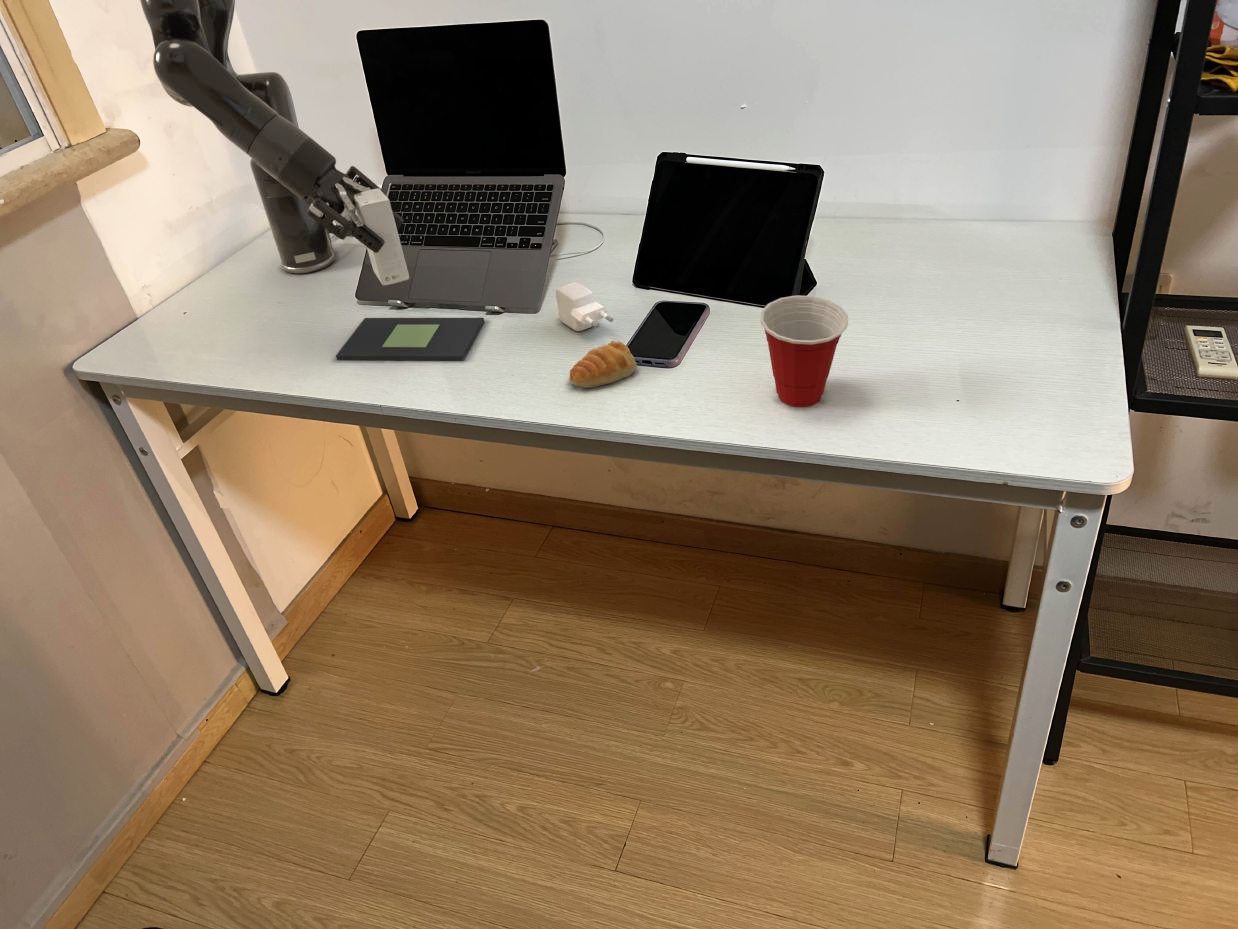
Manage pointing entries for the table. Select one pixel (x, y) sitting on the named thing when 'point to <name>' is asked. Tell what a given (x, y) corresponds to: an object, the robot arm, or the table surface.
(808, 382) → the plastic cup
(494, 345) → the table surface
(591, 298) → the power adapter
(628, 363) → the pastry
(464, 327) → the mat
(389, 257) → the cosmetic box
